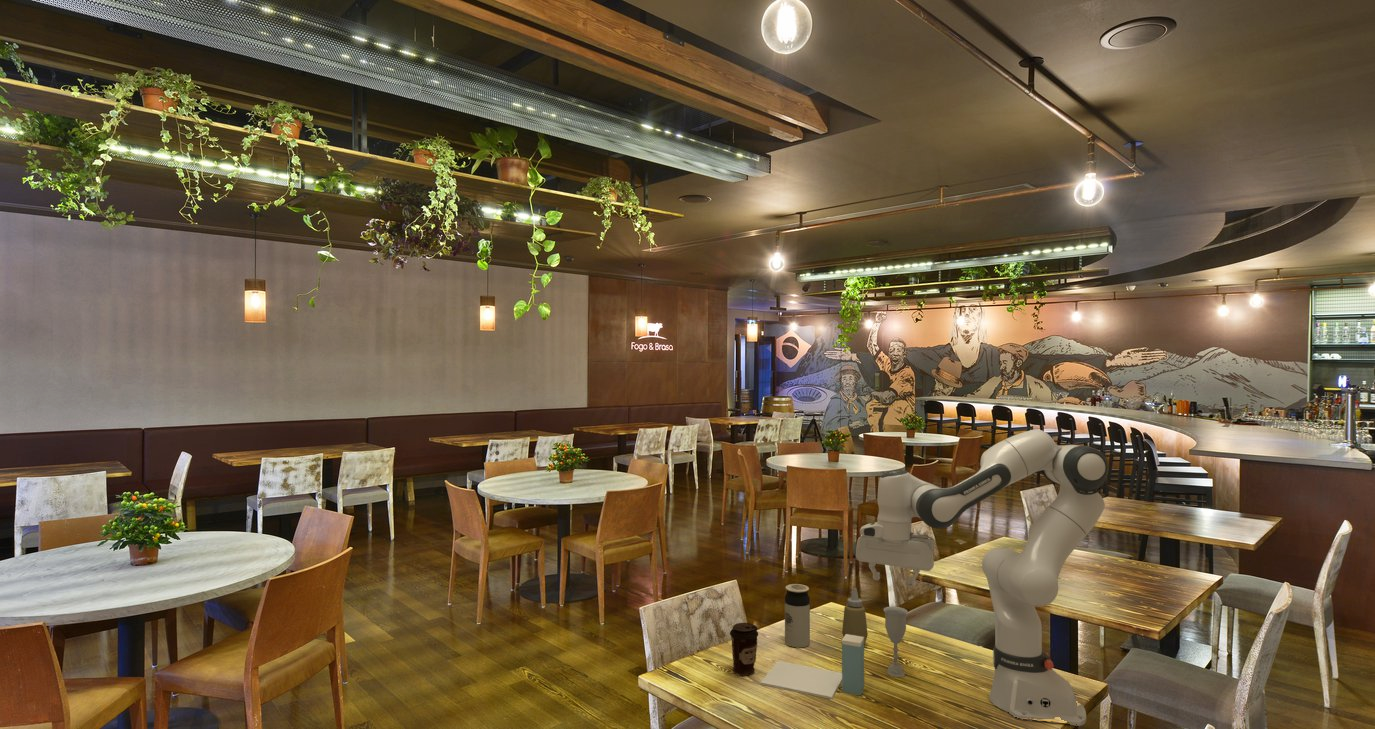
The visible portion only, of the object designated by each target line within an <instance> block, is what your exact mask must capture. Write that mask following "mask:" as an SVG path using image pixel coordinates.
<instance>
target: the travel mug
mask: <svg viewBox="0 0 1375 729" xmlns="http://www.w3.org/2000/svg"><path fill="white" fill-rule="evenodd" d="M785 590H786V594H785V596H784V643H785V645H787V646H789V647H791V646H792V648H796V647H798V649H799V648H800V649H801V648H805V647H808V646H810V645H811V635H810V634H811V632H810V631H811V628H810V627H811V614H810V613H811V606H810V605H811V597H810V596H809V590H810V588H809V586H808V585H804V584H801V583H800V584H799V583H791V584H787V585H786V586H785Z"/></svg>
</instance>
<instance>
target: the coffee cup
mask: <svg viewBox="0 0 1375 729" xmlns="http://www.w3.org/2000/svg"><path fill="white" fill-rule="evenodd" d="M758 629H759V628H758V627H757V625H756V624H752V623H751V622H750V623H749V622H738V623H736V624H734V625H733V626H732V628H731V629H730V632H729V635H730V640H731V649H732V651H731V652H732V653H731V654H732V661H733V662H732V663H733V668H732V670H733V672H734V674H736V675H738V676H750V675H752V674H754V673H755V670H756V669H755V663H756V660H757V650H758V637H759V632H758Z"/></svg>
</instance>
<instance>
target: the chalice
mask: <svg viewBox="0 0 1375 729" xmlns="http://www.w3.org/2000/svg"><path fill="white" fill-rule="evenodd" d="M883 612H884V616H885V617H884V619H885V620H884V623H885V625H884V627H885V631H886V633H887V636H888V638H889V640H890V642H891V643H892V644H893V648H892V650H893V655H892V657H893V660H894V661H893V662H892V663H890V664H889V665H888V666H889V667H888V668H887V670H886V674H888V675H889V676H891V677H894V678H895V677H896V678H901V677H905V675H906V674H905V672H904V668H903V666H902V665H901V664H899V662H898V658H899V657H900V656H899V654H898V652H899V649H898V648H899V647H898V644H901V643H902V640H903V638H904V636H905V633H906V631H907V615H908V613H909V612H908V610H907V609H906V608H903V607H899V606H886V607H884V608H883Z"/></svg>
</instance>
